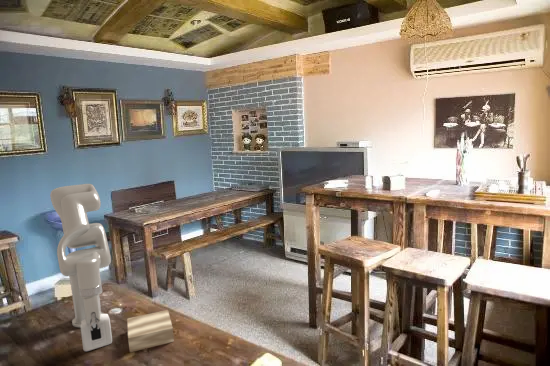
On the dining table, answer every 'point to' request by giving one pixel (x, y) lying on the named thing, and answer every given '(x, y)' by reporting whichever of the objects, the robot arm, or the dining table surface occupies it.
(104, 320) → the photo printer
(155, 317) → the birch block
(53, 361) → the dining table surface
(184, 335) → the dining table surface
